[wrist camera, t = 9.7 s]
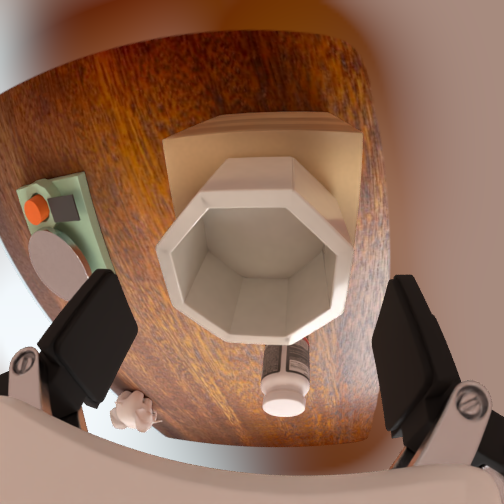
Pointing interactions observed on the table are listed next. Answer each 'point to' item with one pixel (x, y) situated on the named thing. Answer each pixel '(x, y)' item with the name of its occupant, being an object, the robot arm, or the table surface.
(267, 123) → the stand
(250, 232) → the bowl
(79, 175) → the scale
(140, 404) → the elephant figurine
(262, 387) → the pill bottle
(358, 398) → the table surface
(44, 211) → the tare button
